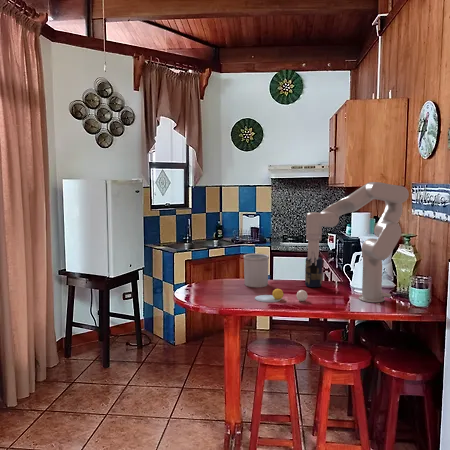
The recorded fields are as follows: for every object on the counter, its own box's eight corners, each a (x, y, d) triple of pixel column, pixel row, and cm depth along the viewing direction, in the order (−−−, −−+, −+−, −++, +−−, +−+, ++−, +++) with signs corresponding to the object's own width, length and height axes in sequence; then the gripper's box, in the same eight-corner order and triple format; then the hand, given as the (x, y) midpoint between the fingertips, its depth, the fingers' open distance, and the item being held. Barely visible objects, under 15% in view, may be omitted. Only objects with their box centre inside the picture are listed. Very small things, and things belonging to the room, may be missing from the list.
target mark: (283, 296, 240) (283, 295, 240) (279, 303, 227) (279, 302, 227) (257, 294, 244) (257, 294, 244) (252, 301, 230) (252, 300, 230)
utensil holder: (267, 288, 258) (267, 258, 256) (241, 287, 261) (241, 257, 259) (270, 282, 272) (270, 253, 270) (245, 281, 275) (245, 253, 273)
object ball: (277, 285, 236) (271, 293, 237) (276, 287, 231) (269, 295, 232) (286, 292, 235) (279, 300, 237) (284, 295, 230) (277, 302, 231)
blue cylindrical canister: (301, 285, 264) (302, 255, 262) (315, 283, 268) (315, 253, 266) (311, 289, 255) (312, 257, 254) (325, 287, 259) (325, 256, 257)
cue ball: (299, 287, 233) (295, 297, 234) (297, 289, 228) (294, 299, 229) (309, 291, 232) (305, 301, 233) (308, 293, 227) (304, 304, 228)
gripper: (307, 235, 234) (307, 269, 236) (305, 238, 220) (304, 275, 222) (322, 235, 232) (321, 270, 234) (320, 239, 218) (320, 276, 220)
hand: (313, 272), depth 228 cm, fingers closed
